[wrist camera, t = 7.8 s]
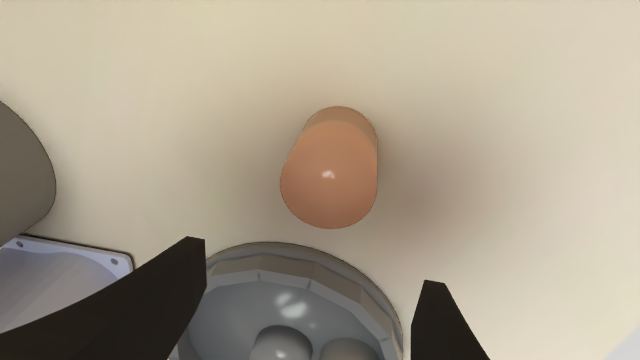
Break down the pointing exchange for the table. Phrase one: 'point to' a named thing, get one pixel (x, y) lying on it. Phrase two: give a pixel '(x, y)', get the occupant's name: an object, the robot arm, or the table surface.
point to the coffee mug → (22, 177)
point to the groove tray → (285, 307)
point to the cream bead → (347, 350)
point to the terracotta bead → (332, 169)
